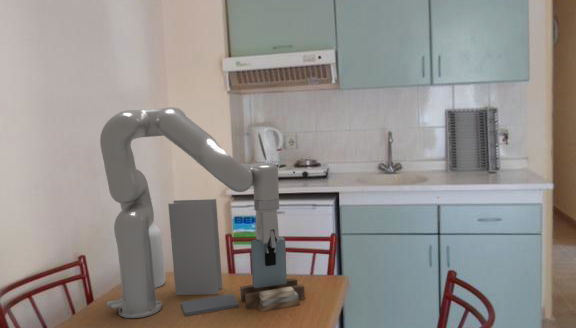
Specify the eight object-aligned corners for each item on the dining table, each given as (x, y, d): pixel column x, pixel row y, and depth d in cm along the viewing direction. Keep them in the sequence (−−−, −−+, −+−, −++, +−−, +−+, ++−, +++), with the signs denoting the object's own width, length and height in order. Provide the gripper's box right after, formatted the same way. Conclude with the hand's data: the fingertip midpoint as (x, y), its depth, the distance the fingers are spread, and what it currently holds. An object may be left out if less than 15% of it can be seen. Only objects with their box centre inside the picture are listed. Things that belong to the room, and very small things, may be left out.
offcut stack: (260, 311, 151) (259, 296, 150) (257, 307, 154) (256, 292, 153) (299, 304, 154) (298, 289, 154) (295, 300, 158) (294, 285, 157)
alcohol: (135, 289, 175) (127, 202, 172) (145, 280, 184) (138, 197, 180) (160, 289, 174) (152, 201, 171) (169, 280, 183) (162, 196, 179)
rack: (247, 309, 153) (246, 296, 153) (241, 299, 161) (240, 286, 161) (304, 298, 159) (304, 286, 158) (295, 289, 167) (295, 277, 166)
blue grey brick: (255, 288, 156) (253, 243, 155) (252, 285, 159) (250, 240, 158) (286, 283, 160) (285, 239, 158) (283, 280, 162) (282, 236, 161)
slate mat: (184, 316, 150) (184, 312, 150) (181, 305, 159) (181, 302, 159) (238, 306, 155) (238, 303, 155) (232, 296, 164) (232, 293, 164)
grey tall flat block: (222, 288, 172) (216, 199, 168) (218, 294, 167) (212, 202, 163) (180, 288, 173) (173, 200, 170) (175, 294, 168) (168, 203, 164)
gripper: (248, 201, 163) (250, 257, 165) (261, 210, 148) (264, 273, 150) (271, 198, 165) (273, 255, 168) (286, 208, 150) (288, 269, 152)
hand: (268, 263), depth 159 cm, fingers closed on blue grey brick, 3 cm apart
